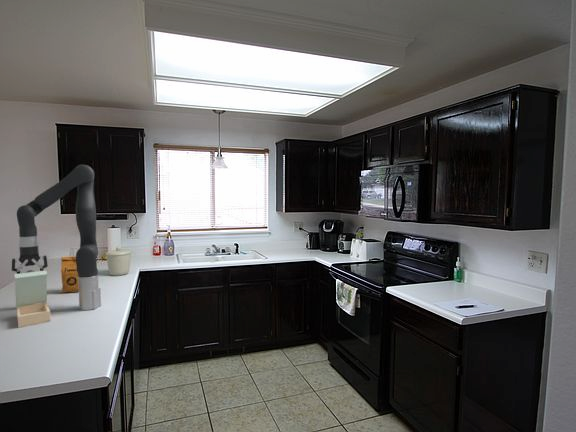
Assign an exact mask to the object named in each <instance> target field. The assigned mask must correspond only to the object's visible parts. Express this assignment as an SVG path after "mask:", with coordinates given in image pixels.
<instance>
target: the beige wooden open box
mask: <svg viewBox="0 0 576 432" xmlns="http://www.w3.org/2000/svg"><path fill="white" fill-rule="evenodd" d="M16 319H17V326H18V328H24V327H25V328H26V327H29V326H33V325H34V326H35V325H40V324H45V323H49V322H51V310H50V308H49V305H48V301H47V302H43V303H37V304H32V305H26V306H20V307H16Z"/></svg>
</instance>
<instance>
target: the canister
mask: <svg viewBox="0 0 576 432" xmlns="http://www.w3.org/2000/svg"><path fill="white" fill-rule="evenodd" d="M132 253H133V251H131V250H129V249H122V247H121V246H116V248H115V249H114V250H109V251H107V252H105V256H106V262H107V269H108V273H109V274H110V275H111V276H115V277H117V276H124V275H127V274H129V273H130V269H131V260H132Z"/></svg>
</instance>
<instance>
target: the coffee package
mask: <svg viewBox="0 0 576 432" xmlns="http://www.w3.org/2000/svg"><path fill="white" fill-rule="evenodd" d="M60 259H61V260H60V261H61V270H60V272H61V284H62V286H61V287H62V288H61V292H62V293H66V294H67V293H79V288H78V273H77V266H76V256H61V258H60Z"/></svg>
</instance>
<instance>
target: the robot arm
mask: <svg viewBox="0 0 576 432" xmlns="http://www.w3.org/2000/svg"><path fill="white" fill-rule="evenodd" d="M94 184H95V171H94V169H93V168H92V167H91V166H89V165H86V164H79V165H77V166H75V168H74V169H73V170H72V171H70V173H69V174H66V176H65V177H64V178H62V179H61V180H60V181H58V182H57V183H55V184H54V185H52V186H50V187H49V188H48V189H46V190H45V191H42V192H41V193H40V194H38V195H37V196H36V197H34V199H33V200H31V201H30V202H28V203H27V204H25V205H21V206H18V208H17V210H16V218H17V224H18V230H19V233H18V235H19V239H18V246H19V247H18V248H19V257H17V258H15V257H13V258H11V271H12V272H16V274H20V273H21V270H22V269H23V267H29V266H31V267H32V266H37V267H38V268H39V271H44V269H46V268H48V267H49V266H48V258H47V255H45V254H44V255H41V256H40V252H39V240H38V229H37V228H38V227H37V225H36V223H35V217H37V216H38V215H40V214H41V213H42V212H43V211H44V210H46V209H47V208H49V207H51V206H52V205H53V204H55V203H57V202H58V201H59V200H60V199H61V198H63V197H64V196H66V194H68V193H69V192H70V191H72V190H73V189H75V188H77V190H76V191H77V194H76V202H75V221H76V226H77V229H78V233H79V239H80V241H79V242H80V243H79V249H78V250H77V251H76V253H75V257H76V266H77V273H78V288H79V292H78V308H79V310H81V311H89V310H96V309H98V308H99V307H101V306H102V299H101V298H102V297H101V295H102V293H101V288H100V287H99V270H98V266H97V265H98V263H97V258H98V256H99V249H98V243H97V242H98V241H97V236H96V235H97V234H96V232H97V211H96V209H97V208H96V200H95V195H94ZM40 259H41V260H42V261H43V265H42V264H41V263H39V261H40ZM18 261H19V262H20V263H21V264H20V265H19V266H18V267H17V268H16V264H17V263H18Z"/></svg>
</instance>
